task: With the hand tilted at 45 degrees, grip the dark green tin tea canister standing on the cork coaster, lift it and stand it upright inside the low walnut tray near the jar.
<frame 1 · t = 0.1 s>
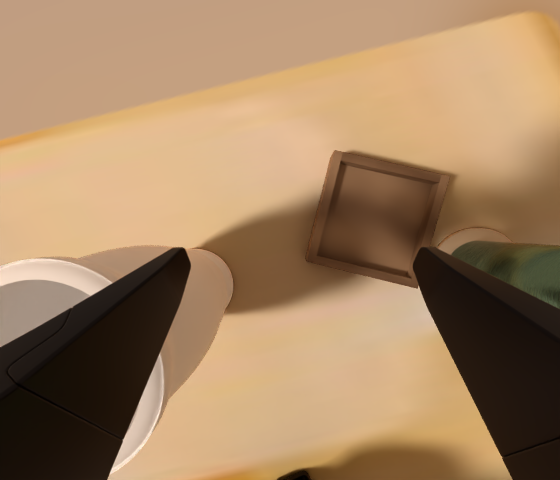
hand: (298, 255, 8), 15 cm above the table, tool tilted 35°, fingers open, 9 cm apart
tea canister: (476, 271, 22), resting on cork coaster
cork coaster: (472, 270, 22), on the table
jar: (198, 284, 24), on the table
walnut tray: (368, 220, 22), on the table
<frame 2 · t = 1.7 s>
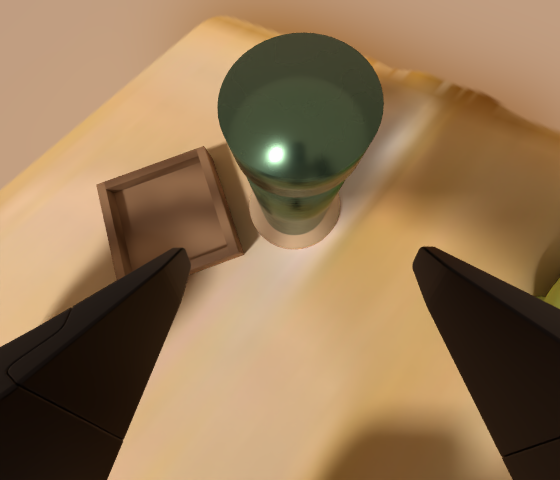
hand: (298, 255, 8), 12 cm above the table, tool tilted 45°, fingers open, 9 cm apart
tea canister: (294, 203, 21), resting on cork coaster
cork coaster: (294, 205, 21), on the table
walnut tray: (176, 222, 22), on the table
when the fingers open (8 cm above the table, at t = 8.6 s): tea canister stays where it is, resting on walnut tray.
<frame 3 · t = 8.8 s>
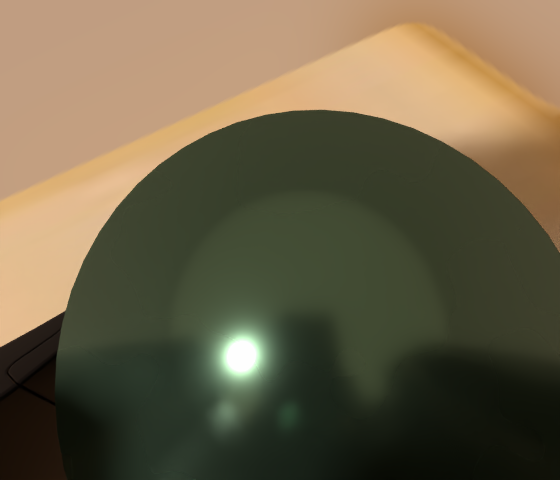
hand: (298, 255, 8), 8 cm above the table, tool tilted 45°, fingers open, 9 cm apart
tea canister: (295, 285, 15), point 1 cm above the table, touching walnut tray
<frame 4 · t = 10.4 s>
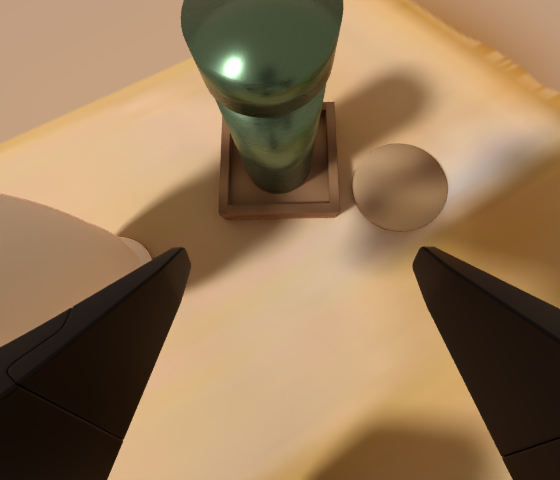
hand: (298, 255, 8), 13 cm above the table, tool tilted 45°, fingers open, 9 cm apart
tea canister: (278, 163, 21), point 1 cm above the table, touching walnut tray
cork coaster: (397, 187, 21), on the table
jar: (117, 278, 22), on the table
walnut tray: (279, 167, 22), on the table
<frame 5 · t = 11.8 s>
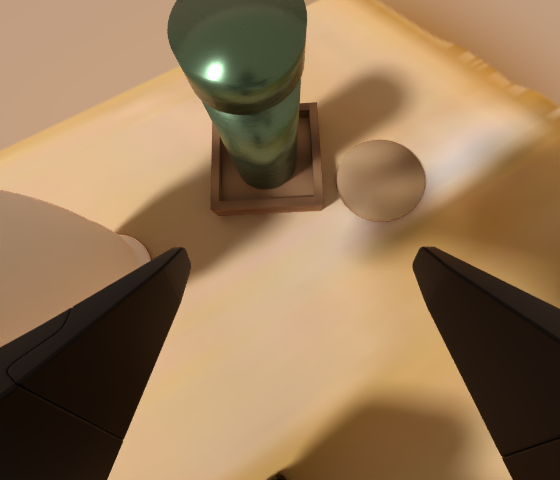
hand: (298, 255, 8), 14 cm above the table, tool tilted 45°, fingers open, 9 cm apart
tea canister: (266, 161, 22), point 1 cm above the table, touching walnut tray
cork coaster: (378, 180, 23), on the table
jar: (116, 273, 23), on the table
walnut tray: (267, 165, 23), on the table
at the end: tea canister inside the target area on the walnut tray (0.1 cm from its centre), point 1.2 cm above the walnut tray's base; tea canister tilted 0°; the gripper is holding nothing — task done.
